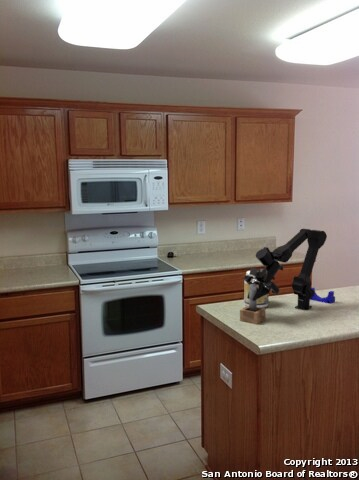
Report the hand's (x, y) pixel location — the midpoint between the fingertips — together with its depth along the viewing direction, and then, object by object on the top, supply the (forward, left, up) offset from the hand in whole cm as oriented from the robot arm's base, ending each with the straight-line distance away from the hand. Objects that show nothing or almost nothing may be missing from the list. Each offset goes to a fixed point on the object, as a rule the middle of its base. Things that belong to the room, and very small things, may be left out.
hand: (250, 299), depth 187 cm
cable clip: (-48, +16, -10) cm, 52 cm away
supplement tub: (-22, -9, -10) cm, 26 cm away
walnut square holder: (-1, 0, -10) cm, 10 cm away
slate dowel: (-1, +1, -7) cm, 7 cm away
